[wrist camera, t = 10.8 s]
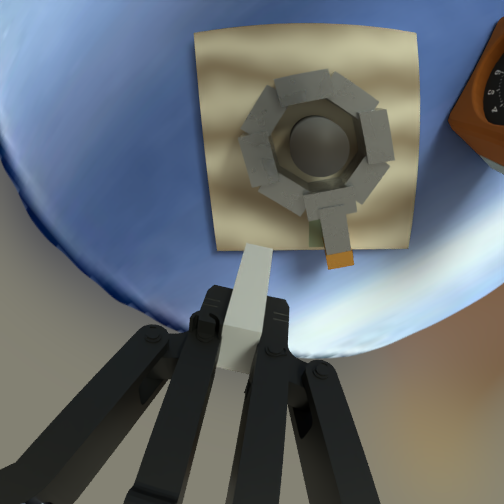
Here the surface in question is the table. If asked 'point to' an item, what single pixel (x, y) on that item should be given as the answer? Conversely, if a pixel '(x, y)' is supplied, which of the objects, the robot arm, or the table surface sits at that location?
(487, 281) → the table surface
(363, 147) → the grey handled ring
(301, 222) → the collar base
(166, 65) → the table surface
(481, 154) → the alarm clock
